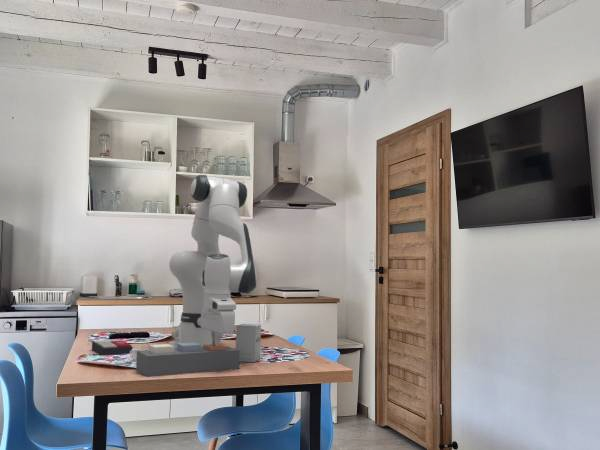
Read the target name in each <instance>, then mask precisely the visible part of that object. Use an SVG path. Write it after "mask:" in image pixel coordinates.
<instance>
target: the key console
mask: <svg viewBox="0 0 600 450" xmlns="http://www.w3.org/2000/svg"><path fill="white" fill-rule="evenodd" d="M226 346H227V350H214V351H209V350H206V349H203V347H201V351H198V352H183V353H182V352H180V351H178V350H177V348H174V353H167V354H152V353H150V352H149V349H145V350H144V349H143V350H142V349H141V351H137V361H135V363H136V367H135V370H136V371H137V372H139V373H140V374H142V375H144V376H146V377H159V376H161V377H162V376H169V375H182V374H193V373H194V374H195V372H196V373H207V372H206V371H208V372H216V371H218V370H220V371H229V370H228V369H232V370H239V369H240V361H239V350H237V349H236V348H234V347H230V346H228V345H226Z"/></svg>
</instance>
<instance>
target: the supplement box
mask: <svg viewBox="0 0 600 450" xmlns="http://www.w3.org/2000/svg"><path fill="white" fill-rule="evenodd" d="M261 334H262V324H260V323H240V324H237V325H236V329H235V349H237V350H239V363H240V362H242V363H256V362H257V361H259V360H261V337H262V335H261Z"/></svg>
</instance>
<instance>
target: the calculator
mask: <svg viewBox="0 0 600 450" xmlns="http://www.w3.org/2000/svg"><path fill="white" fill-rule="evenodd" d="M91 344H92V345H91V351H92V352H94V353H97V354H99V355H101V356H115V355H127V354H128V355H130V351H131V350H132V349H134V348H133V345H132V344H130V343H128V342H127V341H124V340H121V339H120V338H119V339H118V338H117V339H103V340H102V339H100V340H99V339H98V340H93V341H92V342H91ZM131 354H132V351H131Z"/></svg>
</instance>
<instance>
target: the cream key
mask: <svg viewBox="0 0 600 450" xmlns="http://www.w3.org/2000/svg"><path fill="white" fill-rule="evenodd" d="M148 350H149V352H150V353H152V354H167V353H174V346H172V345H169V343H166V344H165V343H161V344H149V346H148Z"/></svg>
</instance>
